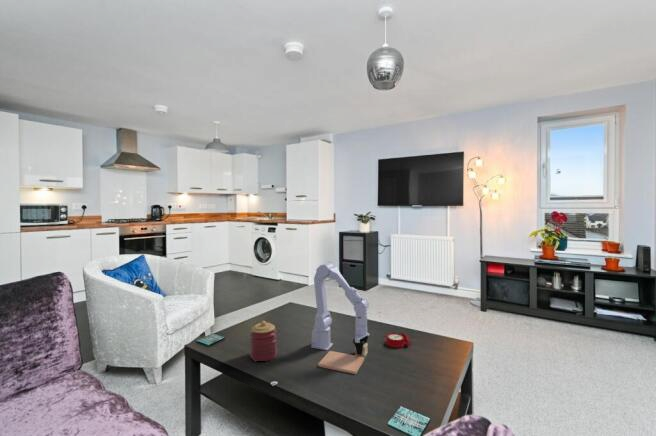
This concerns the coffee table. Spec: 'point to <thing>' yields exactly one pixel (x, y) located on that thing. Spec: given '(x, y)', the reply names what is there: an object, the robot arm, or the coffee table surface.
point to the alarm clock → (397, 340)
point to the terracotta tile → (341, 362)
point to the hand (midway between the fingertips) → (361, 351)
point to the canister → (263, 342)
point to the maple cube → (364, 351)
